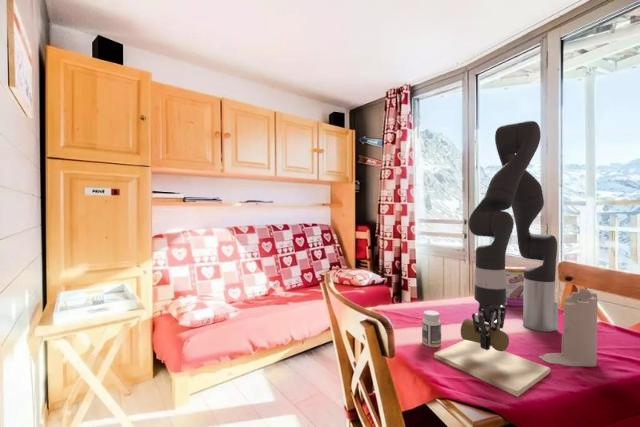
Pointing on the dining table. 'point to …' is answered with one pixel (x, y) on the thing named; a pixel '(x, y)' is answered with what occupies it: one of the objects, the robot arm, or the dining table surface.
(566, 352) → the candle
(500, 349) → the cork
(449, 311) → the dining table surface
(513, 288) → the candy bar box
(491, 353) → the birch board
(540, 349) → the dining table surface
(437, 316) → the pill bottle
